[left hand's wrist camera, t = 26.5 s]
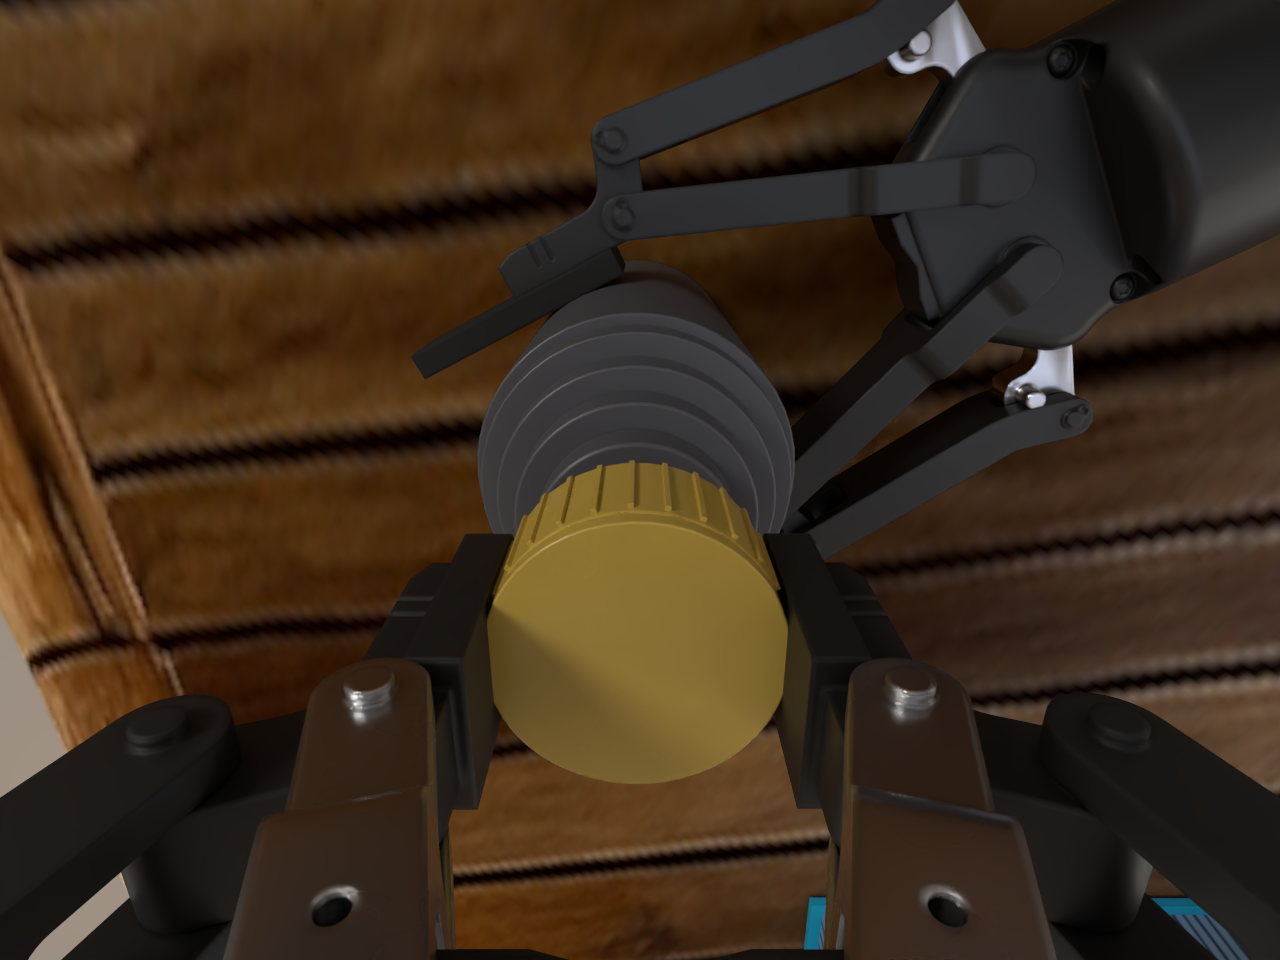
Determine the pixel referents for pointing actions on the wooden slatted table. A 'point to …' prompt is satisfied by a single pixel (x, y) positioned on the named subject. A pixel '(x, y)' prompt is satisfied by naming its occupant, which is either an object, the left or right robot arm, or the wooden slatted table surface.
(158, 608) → the wooden slatted table surface
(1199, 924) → the model building
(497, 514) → the bottle
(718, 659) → the cap
